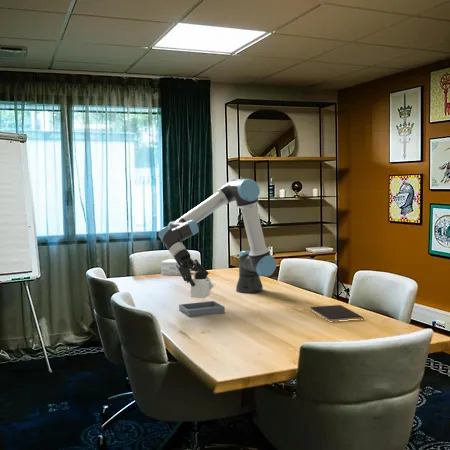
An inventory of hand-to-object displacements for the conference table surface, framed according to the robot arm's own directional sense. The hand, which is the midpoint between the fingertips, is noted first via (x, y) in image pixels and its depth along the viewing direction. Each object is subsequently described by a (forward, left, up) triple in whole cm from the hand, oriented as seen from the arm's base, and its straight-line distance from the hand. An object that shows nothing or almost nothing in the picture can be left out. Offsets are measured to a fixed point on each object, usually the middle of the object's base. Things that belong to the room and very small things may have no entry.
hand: (205, 289), depth 247 cm
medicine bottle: (+2, -3, -4) cm, 5 cm away
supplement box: (-21, -114, -11) cm, 117 cm away
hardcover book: (-52, +31, -12) cm, 62 cm away
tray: (+1, -3, -11) cm, 11 cm away
